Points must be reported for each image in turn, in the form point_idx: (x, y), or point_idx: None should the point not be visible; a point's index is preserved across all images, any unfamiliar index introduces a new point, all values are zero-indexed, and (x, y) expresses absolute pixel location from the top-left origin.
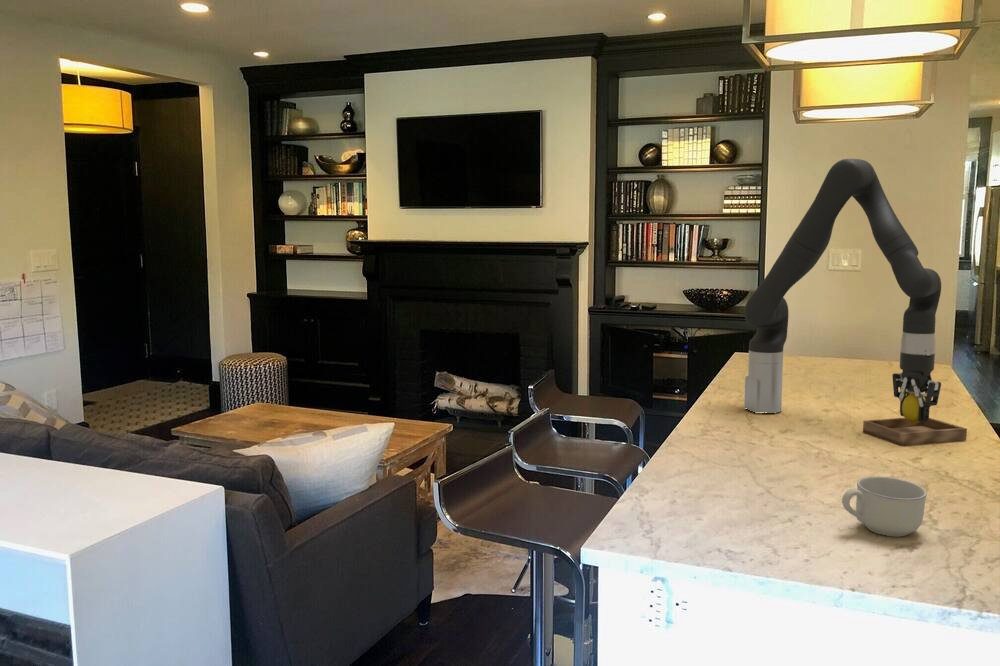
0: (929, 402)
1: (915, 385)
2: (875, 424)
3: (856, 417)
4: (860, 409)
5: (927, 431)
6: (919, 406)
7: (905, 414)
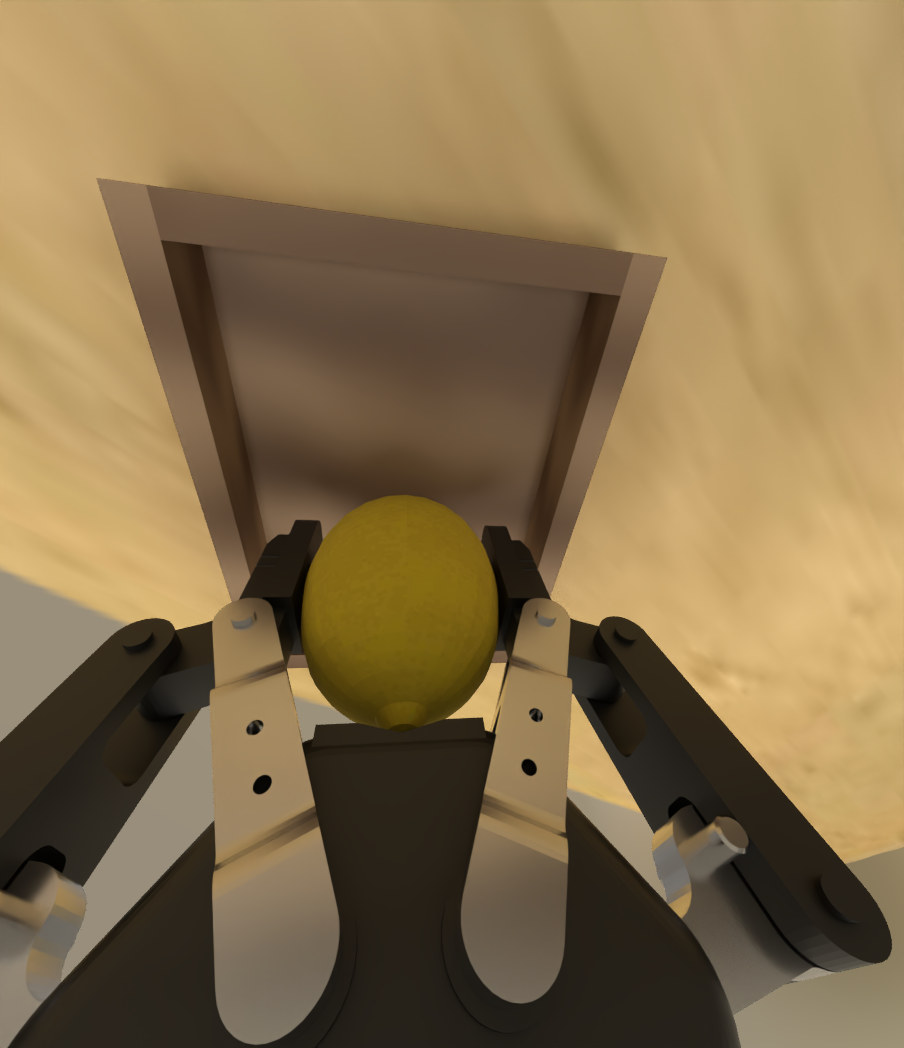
0: (89, 659)
1: (239, 855)
2: (515, 243)
3: (811, 506)
4: (844, 604)
5: (199, 467)
6: (302, 605)
7: (402, 498)
